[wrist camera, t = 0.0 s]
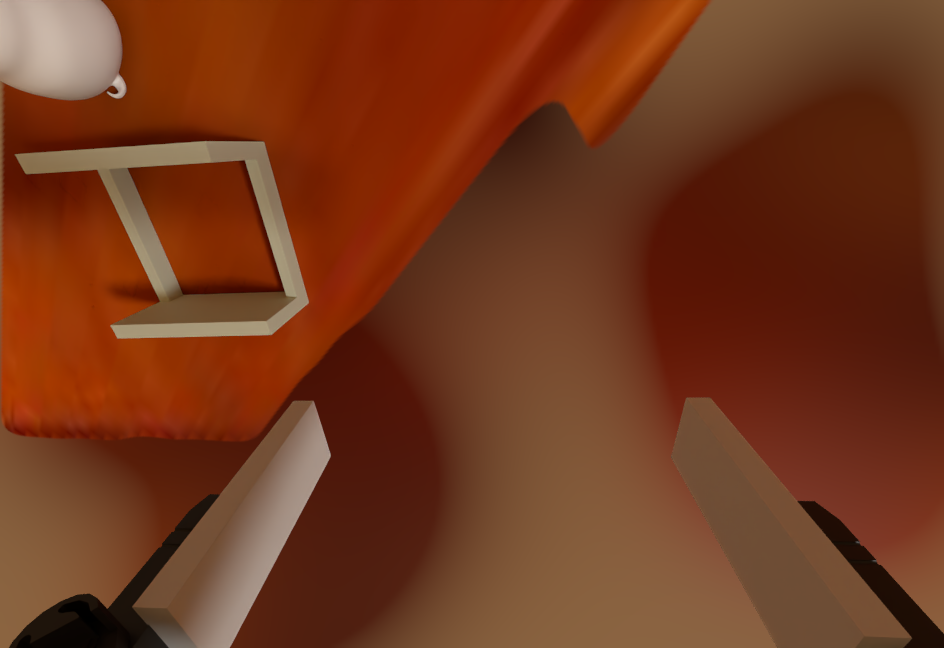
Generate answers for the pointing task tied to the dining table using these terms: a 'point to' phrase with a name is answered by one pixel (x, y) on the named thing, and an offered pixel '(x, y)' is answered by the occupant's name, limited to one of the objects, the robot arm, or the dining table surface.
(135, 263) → the dining table surface
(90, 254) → the dining table surface
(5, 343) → the dining table surface
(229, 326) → the beige open frame
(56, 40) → the figurine
